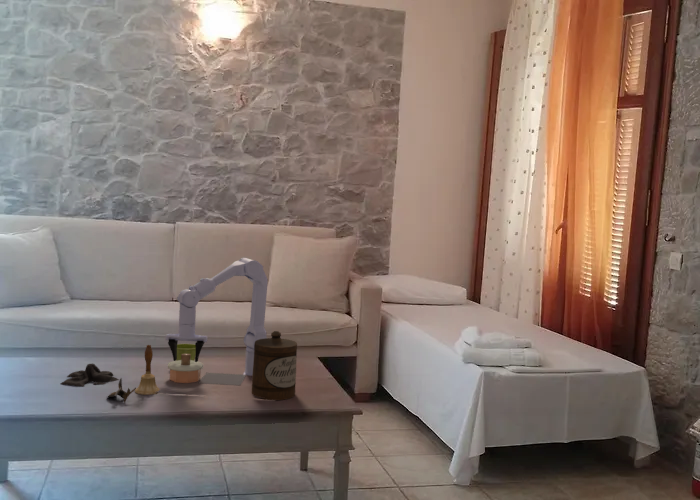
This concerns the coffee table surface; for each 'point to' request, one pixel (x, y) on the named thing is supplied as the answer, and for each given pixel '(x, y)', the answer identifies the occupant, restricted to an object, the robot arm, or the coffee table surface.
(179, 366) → the lid
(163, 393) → the coffee table surface
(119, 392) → the eagle figurine
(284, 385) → the wooden container
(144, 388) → the hand bell
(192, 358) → the plant pot
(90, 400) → the coffee table surface
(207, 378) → the mat
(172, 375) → the bowl
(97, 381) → the cloth
